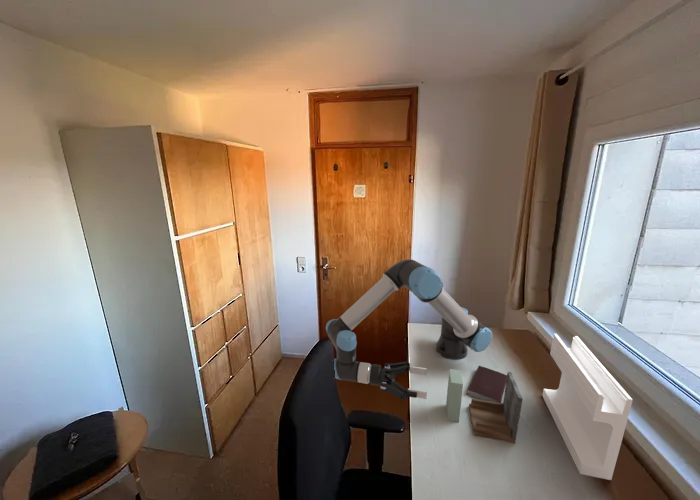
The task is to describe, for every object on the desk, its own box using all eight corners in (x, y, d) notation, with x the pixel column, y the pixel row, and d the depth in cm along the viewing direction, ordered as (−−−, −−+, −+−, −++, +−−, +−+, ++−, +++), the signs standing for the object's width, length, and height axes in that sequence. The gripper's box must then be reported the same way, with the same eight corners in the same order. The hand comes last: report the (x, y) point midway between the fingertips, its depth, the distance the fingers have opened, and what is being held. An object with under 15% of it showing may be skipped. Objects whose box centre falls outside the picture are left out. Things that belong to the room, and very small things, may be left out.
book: (507, 381, 137) (508, 374, 136) (499, 408, 122) (500, 400, 121) (477, 371, 144) (478, 365, 143) (466, 395, 128) (467, 388, 128)
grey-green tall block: (446, 405, 122) (449, 369, 118) (456, 406, 121) (460, 370, 118) (447, 420, 115) (451, 382, 111) (458, 422, 114) (463, 384, 110)
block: (611, 480, 93) (632, 399, 86) (580, 473, 95) (598, 394, 88) (564, 399, 126) (577, 336, 119) (542, 395, 128) (553, 333, 121)
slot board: (468, 406, 121) (473, 367, 117) (505, 412, 119) (511, 372, 114) (474, 435, 108) (479, 392, 104) (515, 443, 105) (522, 398, 101)
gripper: (374, 363, 135) (425, 371, 130) (364, 404, 111) (425, 415, 106) (375, 348, 133) (427, 355, 128) (364, 386, 109) (427, 396, 104)
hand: (426, 382), depth 117 cm, fingers open, 13 cm apart
